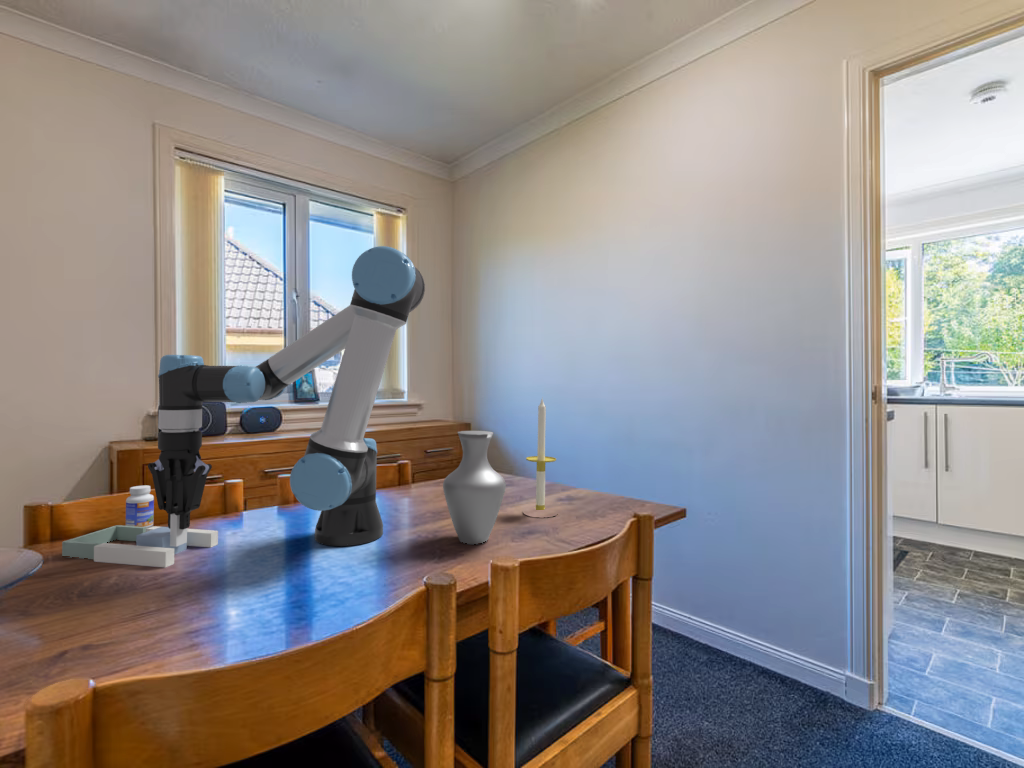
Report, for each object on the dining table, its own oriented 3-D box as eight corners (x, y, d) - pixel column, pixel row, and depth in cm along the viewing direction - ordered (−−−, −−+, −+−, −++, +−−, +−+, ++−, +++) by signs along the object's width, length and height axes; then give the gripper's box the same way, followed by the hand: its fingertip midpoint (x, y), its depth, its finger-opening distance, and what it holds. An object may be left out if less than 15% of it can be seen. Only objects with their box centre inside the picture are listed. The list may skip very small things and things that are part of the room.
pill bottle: (138, 531, 115) (138, 490, 115) (119, 529, 116) (120, 488, 116) (159, 524, 121) (159, 485, 121) (141, 523, 122) (141, 484, 122)
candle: (534, 506, 144) (536, 396, 144) (564, 512, 138) (566, 397, 138) (515, 514, 136) (517, 396, 136) (545, 520, 130) (548, 398, 130)
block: (186, 549, 104) (186, 528, 104) (162, 559, 98) (162, 537, 98) (161, 547, 105) (161, 526, 105) (136, 557, 99) (136, 535, 99)
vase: (517, 540, 114) (519, 432, 114) (471, 555, 103) (473, 437, 103) (475, 526, 124) (476, 427, 123) (429, 539, 113) (431, 431, 113)
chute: (217, 544, 107) (218, 530, 107) (165, 567, 94) (165, 551, 94) (153, 539, 110) (153, 526, 110) (93, 561, 96) (93, 546, 96)
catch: (146, 540, 109) (146, 527, 109) (94, 559, 98) (94, 544, 98) (116, 538, 110) (116, 525, 110) (62, 556, 99) (62, 541, 99)
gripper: (222, 429, 104) (220, 540, 104) (167, 427, 106) (166, 536, 106) (194, 433, 96) (192, 552, 96) (136, 430, 98) (134, 548, 98)
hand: (178, 544), depth 101 cm, fingers closed
